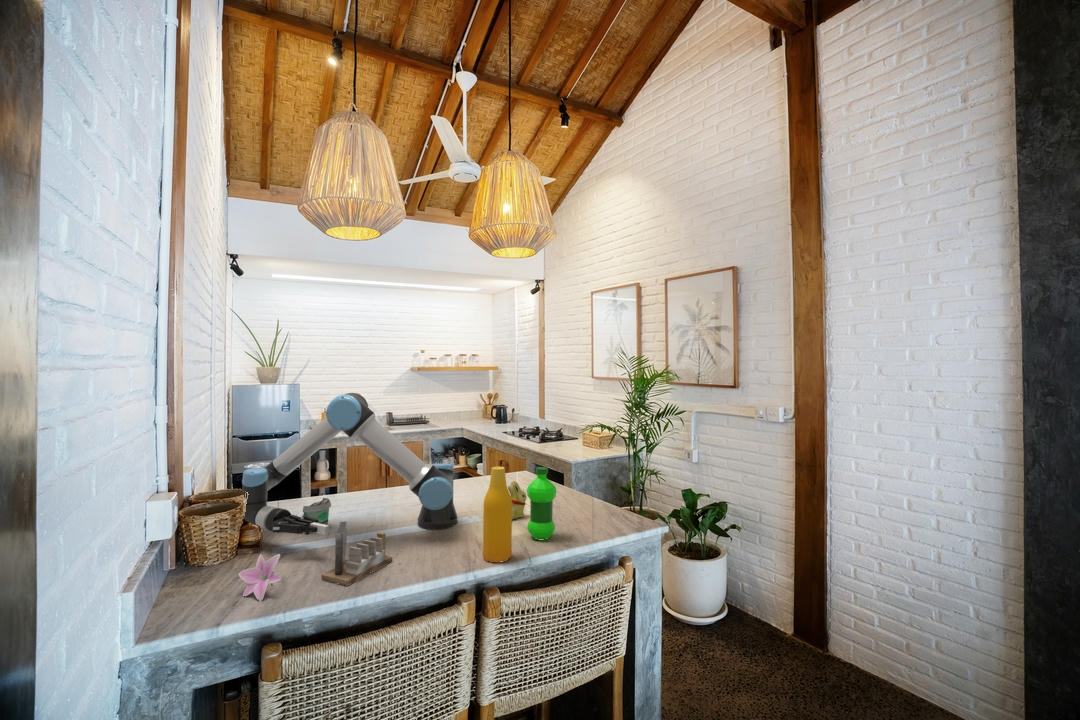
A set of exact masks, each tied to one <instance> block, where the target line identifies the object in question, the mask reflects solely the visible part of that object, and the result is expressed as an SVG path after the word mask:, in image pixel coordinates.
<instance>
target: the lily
mask: <svg viewBox="0 0 1080 720" xmlns="http://www.w3.org/2000/svg"><path fill="white" fill-rule="evenodd" d="M280 557H281V553H278V554H275V555H273V556H272V557H270V558H269V559H267V560H265V558H264V556H263V554H260V555H258V558H257V561H256V564H255V567H250V568H246V569H244V570H241V571H239V572H238V577H239V578H240V580H243V582H245V583H247V585H246V587H245V589H244V591H243V594H242V596H245V597H246V596H249V595H250V594H252V593H254V596H255V597H256V600H258V599H262V601H263V599H264V597H265V594H266V590H267V588H268V584H269V585H270V586H273V587H274V585H273V584H274V583H276V582H279V581H281V580H282V577H281V576H280V575H279V574H278V573H276V572H274V570H275V567H276V565H277V563H278V561H279V560H280Z"/></svg>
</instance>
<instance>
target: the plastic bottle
mask: <svg viewBox="0 0 1080 720" xmlns="http://www.w3.org/2000/svg"><path fill="white" fill-rule="evenodd" d="M535 474H536V475H537V476H536V478H535V479H534V480H532V482H531V483H529V484H528V486H527V488H526V493H527V494H526V496H527V497H528V499H529V500H530V502H529V503H530V507H529V509H530V510H529V511H530V512H529V513H530V517H529V521H528V523H527V531H528V533H529V534H530V535H531V537H533V539H534V538H537V539H546V538H548V539H549V538H550V537H551V536H552V535H553V534H554V532H555V529H556V526H555V521H554V520H553V510H554V509H553V506H554V505H553V503H554V501H553V500H554V499H555V498H556V497H557V487H556V485H555V484H554V483H553V482H552V481H551V480H549V479H548V478H547V475H548V474H549V469H548V467H547V466H538V467H536V468H535Z"/></svg>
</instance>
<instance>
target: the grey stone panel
mask: <svg viewBox="0 0 1080 720" xmlns="http://www.w3.org/2000/svg"><path fill="white" fill-rule="evenodd" d="M347 522H348V521H340V522H339V526H338V528H337V532H336V534H337V533H343V565H344V563H345V559H346V555H347V525H348V523H347ZM342 570H343V566H342Z"/></svg>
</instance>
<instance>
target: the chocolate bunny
mask: <svg viewBox="0 0 1080 720" xmlns="http://www.w3.org/2000/svg"><path fill="white" fill-rule="evenodd" d="M507 489H508V491H509V493H510V496H511V499H512V520H515V519H514V518H516V519H519V518H518V517H521V518H523V517H524V516H525V513H524V511H525V506H526V500H527V497H528V495H527V494H526V493H527V492H525V490H523V489H521V487H520V485H519V483H518V482H517V481H516V480H513V481H512V482H511V483H510V484H509V485H508V486H507ZM522 516H523V517H522Z"/></svg>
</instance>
